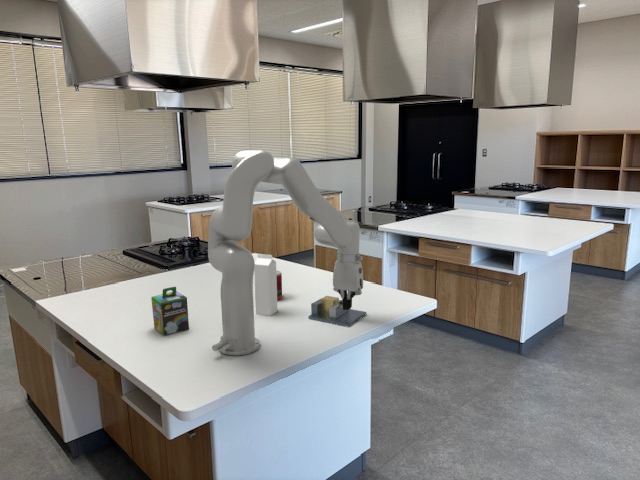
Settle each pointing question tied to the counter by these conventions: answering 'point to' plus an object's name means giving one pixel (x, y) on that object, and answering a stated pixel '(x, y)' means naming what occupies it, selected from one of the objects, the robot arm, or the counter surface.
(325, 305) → the brass block
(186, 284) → the counter surface
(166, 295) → the chalk box
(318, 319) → the vise
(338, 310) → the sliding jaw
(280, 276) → the canned food
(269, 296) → the milk
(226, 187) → the robot arm
